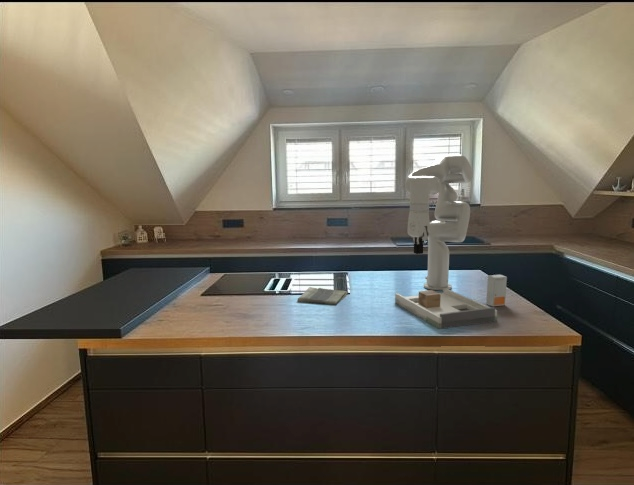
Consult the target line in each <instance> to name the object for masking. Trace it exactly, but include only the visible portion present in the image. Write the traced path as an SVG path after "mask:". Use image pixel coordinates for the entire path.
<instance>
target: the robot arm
mask: <svg viewBox="0 0 634 485" xmlns="http://www.w3.org/2000/svg"><path fill="white" fill-rule="evenodd" d="M473 176H474V173H473V168H472V166H471V164H470V162H469V160H468V159H467V157H466V156H465V155H463V154H445V155H444V154H443V155H439V156H438V157H436V158H435V159H434V161H433V162H432V163H431V164H430V165H428V166H425V167H423V168H419V169H417V170H414V171H412V172H411V173H410V174H409V175H408V177H407V178H406V181H405V183H404V187H405V188H404V189H405V192H406V193H407V194H409V214H408V218H407V227H406V228H407V230H406V231H407V232H406V233H407V234H408V236H410V237H411V239H412V242H413V254H415V255H422V254H424V244H425V242H427V275H426V276H424V279H425V280H426V282H424V284H423V288H425V289H427V290H433V291H443V288H446V289H448V290H451V289H452V284H450V283H449V270H450V268H449V266H450V249H449V247H448V245H447V244H446V243H447V242H449V243H463V242H464V241H465V239H466V238H467V237H466V236H467V233H468V229H469V228H468V226H469V224H470V223H469V222H470V218H471V206H470V204H469V203H468V202H466V201H457V197H458V195H457V192H456V190H455V189H454V188H453V187H452V186H451V185H450V184H468V183H470V182H472V180H473ZM433 195H437V198H436V199H437V200H436V204H435V208H434V209H435V210H434V218H435V220H431V221H430V196H433Z"/></svg>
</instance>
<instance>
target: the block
mask: <svg viewBox="0 0 634 485" xmlns="http://www.w3.org/2000/svg"><path fill="white" fill-rule="evenodd" d="M440 293H441V292H437V291H436V290H431V289H427V290H420V291H418V296H419V299H418V304H420V305H422V306H424V307H425V308H431V307H440V297H441V294H440Z"/></svg>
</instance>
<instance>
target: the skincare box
mask: <svg viewBox="0 0 634 485" xmlns="http://www.w3.org/2000/svg"><path fill="white" fill-rule="evenodd" d="M507 281H508V277H507V276H505V275H503V274H493V275H487V285H486V286H487V287H486V301H485V303H486V305H487V306H489V307H490V306H491V307H499V306H501V307H502V306H505V305H506V295H507Z"/></svg>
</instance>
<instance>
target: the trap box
mask: <svg viewBox="0 0 634 485" xmlns="http://www.w3.org/2000/svg"><path fill="white" fill-rule="evenodd" d="M439 293H440V294H441V297H440V307H431V308H425V307H424V306H422V305H420V304H418V299H419V295H411V296H404V295H401V294H400V293H399V292H397V293H394V297H395V298H394V303H395V304H397V305H398V306H400V307H401V308H402V309H405V310H406V311H408V312H410V313H412V314H413V315H415V316H417V317H418V318H419V319H422V320H423V321H425V322H426V323H428V324H430V325H431V326H433V327H435V328H437V329H438V330H439V329H440V330H441V329H448V328H454V327H455V328H457V327H463V326H471V325H477V324H485V323H493V322H497V321H498V309H496V307H495V306H491V307H490V306H489V305H487V304H486V305H485V304H484V303H481V302H479V301H477V300H474V299H472V298H469V297H467V296H464V295H462V294H460V293H458V292H455V291H453V290H451V289H449V290H448V289H446V288H443V290H442V292H439Z"/></svg>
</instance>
